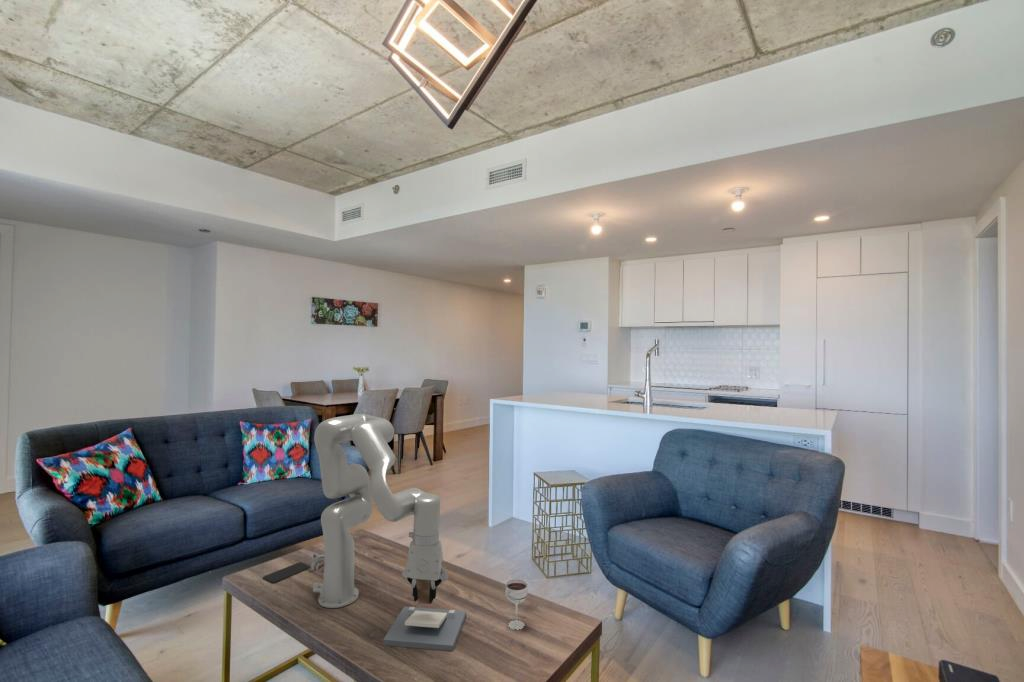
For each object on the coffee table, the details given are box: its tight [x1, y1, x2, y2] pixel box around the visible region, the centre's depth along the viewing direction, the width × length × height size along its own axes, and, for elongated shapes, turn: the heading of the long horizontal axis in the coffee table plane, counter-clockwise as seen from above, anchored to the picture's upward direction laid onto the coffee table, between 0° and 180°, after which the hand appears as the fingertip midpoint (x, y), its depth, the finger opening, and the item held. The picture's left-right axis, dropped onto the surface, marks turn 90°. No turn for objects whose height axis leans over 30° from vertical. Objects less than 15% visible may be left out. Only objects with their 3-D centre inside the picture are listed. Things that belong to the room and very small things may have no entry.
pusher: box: [416, 579, 432, 605], centre depth 140 cm, size 4×4×10 cm
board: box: [382, 606, 467, 652], centre depth 140 cm, size 20×17×3 cm
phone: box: [262, 561, 310, 584], centre depth 174 cm, size 7×1×15 cm
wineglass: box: [504, 579, 529, 631], centre depth 143 cm, size 7×7×12 cm
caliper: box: [309, 553, 324, 572], centre depth 184 cm, size 20×1×6 cm, turn 151°
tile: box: [405, 611, 447, 628], centre depth 140 cm, size 10×10×1 cm
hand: (424, 599), depth 139 cm, fingers closed on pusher, 4 cm apart
